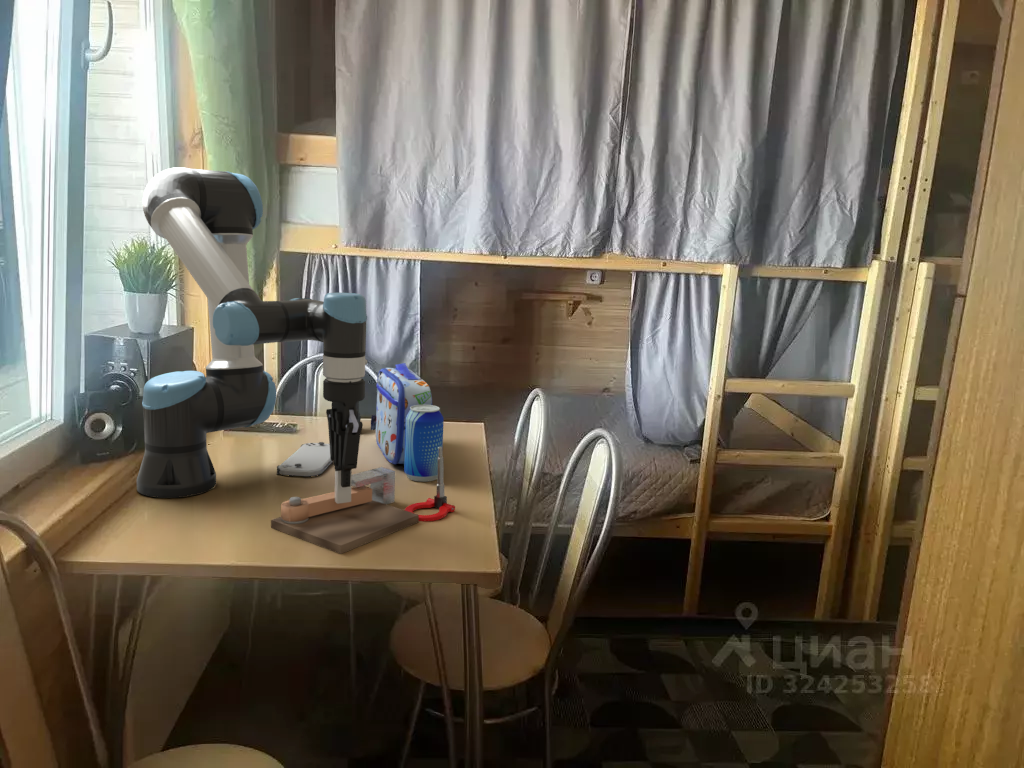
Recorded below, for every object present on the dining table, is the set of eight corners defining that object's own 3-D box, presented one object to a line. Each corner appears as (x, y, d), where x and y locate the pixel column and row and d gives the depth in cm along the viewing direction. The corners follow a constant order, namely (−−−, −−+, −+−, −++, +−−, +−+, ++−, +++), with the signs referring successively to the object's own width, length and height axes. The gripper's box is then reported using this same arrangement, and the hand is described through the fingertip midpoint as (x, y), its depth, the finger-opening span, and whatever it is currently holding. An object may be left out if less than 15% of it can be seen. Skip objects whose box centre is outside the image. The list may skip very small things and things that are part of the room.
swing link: (290, 523, 141) (290, 504, 140) (276, 516, 144) (276, 497, 143) (374, 502, 154) (375, 485, 153) (360, 495, 157) (360, 479, 157)
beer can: (425, 469, 184) (427, 402, 181) (449, 478, 178) (451, 409, 175) (396, 475, 178) (398, 406, 175) (419, 485, 172) (422, 413, 169)
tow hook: (427, 527, 149) (459, 512, 157) (427, 462, 147) (459, 450, 154) (395, 516, 154) (427, 502, 162) (394, 453, 151) (427, 442, 159)
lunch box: (367, 441, 204) (368, 358, 200) (406, 439, 208) (408, 357, 204) (391, 473, 179) (393, 378, 175) (435, 470, 183) (438, 377, 179)
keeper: (355, 513, 153) (356, 481, 152) (342, 508, 155) (343, 476, 154) (394, 502, 161) (395, 471, 159) (381, 497, 163) (381, 466, 162)
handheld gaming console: (318, 468, 172) (273, 465, 173) (318, 480, 173) (273, 477, 173) (344, 441, 195) (304, 438, 195) (344, 452, 196) (304, 449, 196)
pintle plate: (271, 527, 144) (271, 517, 143) (351, 500, 160) (351, 491, 160) (340, 553, 134) (340, 543, 134) (418, 522, 150) (418, 512, 150)
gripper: (377, 383, 140) (374, 509, 145) (351, 371, 151) (349, 489, 156) (336, 385, 137) (335, 515, 141) (313, 373, 147) (312, 493, 152)
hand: (342, 501), depth 148 cm, fingers closed
